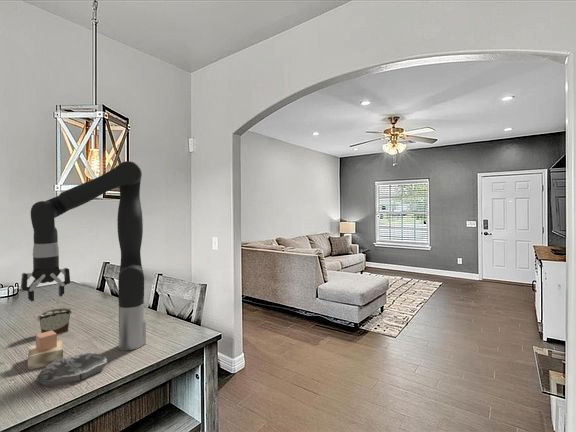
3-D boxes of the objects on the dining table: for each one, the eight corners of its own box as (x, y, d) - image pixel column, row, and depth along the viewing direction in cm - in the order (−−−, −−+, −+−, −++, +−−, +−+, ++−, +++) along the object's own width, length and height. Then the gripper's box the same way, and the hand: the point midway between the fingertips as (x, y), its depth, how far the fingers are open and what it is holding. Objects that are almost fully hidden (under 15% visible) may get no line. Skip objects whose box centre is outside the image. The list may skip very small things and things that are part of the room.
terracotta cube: (52, 343, 119) (52, 330, 119) (56, 346, 116) (56, 333, 116) (35, 347, 115) (35, 334, 115) (40, 351, 112) (40, 338, 112)
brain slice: (95, 355, 121) (95, 347, 120) (112, 371, 109) (112, 362, 109) (30, 375, 106) (30, 367, 106) (42, 396, 95) (42, 386, 94)
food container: (67, 327, 146) (67, 306, 146) (71, 330, 142) (71, 309, 142) (34, 335, 137) (34, 312, 136) (38, 339, 133) (37, 316, 133)
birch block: (62, 352, 123) (62, 339, 123) (63, 362, 115) (63, 349, 115) (30, 359, 117) (29, 346, 117) (27, 370, 109) (27, 356, 109)
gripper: (23, 258, 107) (24, 305, 108) (71, 254, 118) (72, 296, 119) (18, 256, 112) (19, 300, 113) (66, 251, 123) (66, 292, 124)
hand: (46, 298), depth 116 cm, fingers open, 8 cm apart
